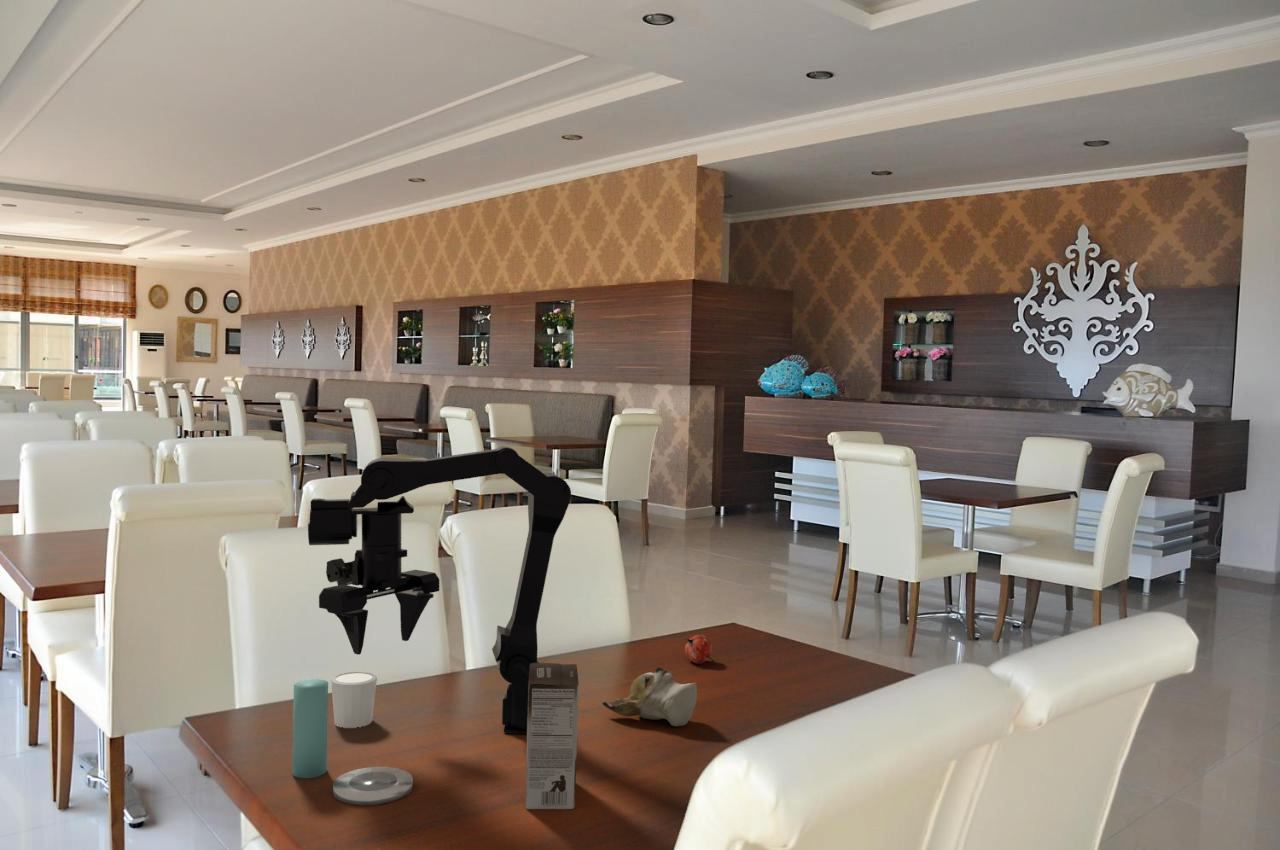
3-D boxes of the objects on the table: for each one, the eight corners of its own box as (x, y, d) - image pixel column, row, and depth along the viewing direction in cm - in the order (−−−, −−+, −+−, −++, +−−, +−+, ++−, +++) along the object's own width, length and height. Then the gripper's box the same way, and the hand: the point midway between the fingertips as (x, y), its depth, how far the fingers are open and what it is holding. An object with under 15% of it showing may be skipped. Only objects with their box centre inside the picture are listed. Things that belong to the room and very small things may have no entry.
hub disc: (420, 775, 133) (420, 767, 133) (402, 806, 123) (402, 798, 123) (346, 772, 133) (346, 764, 133) (322, 804, 123) (322, 795, 123)
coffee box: (526, 781, 132) (529, 662, 131) (574, 781, 132) (577, 662, 132) (524, 810, 123) (527, 682, 122) (575, 810, 123) (579, 682, 123)
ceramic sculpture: (677, 680, 150) (599, 668, 158) (678, 737, 150) (599, 722, 158) (712, 666, 159) (636, 655, 167) (713, 720, 159) (637, 706, 167)
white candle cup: (363, 731, 149) (364, 685, 148) (321, 727, 150) (322, 681, 150) (383, 717, 155) (384, 673, 155) (343, 712, 157) (344, 669, 156)
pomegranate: (700, 665, 196) (672, 644, 194) (718, 643, 196) (690, 622, 194) (709, 677, 191) (680, 655, 188) (727, 654, 191) (699, 632, 189)
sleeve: (330, 766, 135) (332, 679, 134) (320, 778, 130) (322, 689, 130) (298, 765, 135) (300, 678, 134) (287, 777, 130) (288, 688, 130)
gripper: (392, 531, 158) (392, 626, 159) (294, 546, 143) (294, 652, 144) (441, 537, 152) (442, 637, 153) (344, 554, 137) (345, 665, 137)
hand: (381, 647), depth 147 cm, fingers open, 9 cm apart
